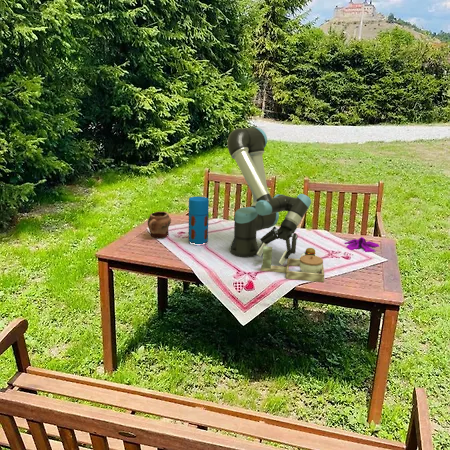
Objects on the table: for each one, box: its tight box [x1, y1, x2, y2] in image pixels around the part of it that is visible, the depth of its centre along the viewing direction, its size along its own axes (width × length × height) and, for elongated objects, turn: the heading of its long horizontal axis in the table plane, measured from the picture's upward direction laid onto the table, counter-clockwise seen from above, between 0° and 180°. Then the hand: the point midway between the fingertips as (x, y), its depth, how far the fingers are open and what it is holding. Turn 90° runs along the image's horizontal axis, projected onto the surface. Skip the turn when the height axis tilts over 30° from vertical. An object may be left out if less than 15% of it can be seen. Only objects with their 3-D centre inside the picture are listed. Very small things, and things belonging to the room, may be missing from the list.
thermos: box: [188, 196, 210, 244], centre depth 239 cm, size 11×11×25 cm
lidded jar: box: [299, 255, 324, 274], centre depth 204 cm, size 11×11×9 cm
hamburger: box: [300, 247, 318, 257], centre depth 226 cm, size 12×12×6 cm
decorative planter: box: [147, 211, 172, 239], centre depth 247 cm, size 20×12×14 cm, turn 164°
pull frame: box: [260, 245, 325, 283], centre depth 205 cm, size 29×17×11 cm, turn 80°
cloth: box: [344, 236, 381, 253], centre depth 244 cm, size 22×19×6 cm
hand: (269, 259), depth 207 cm, fingers open, 13 cm apart
